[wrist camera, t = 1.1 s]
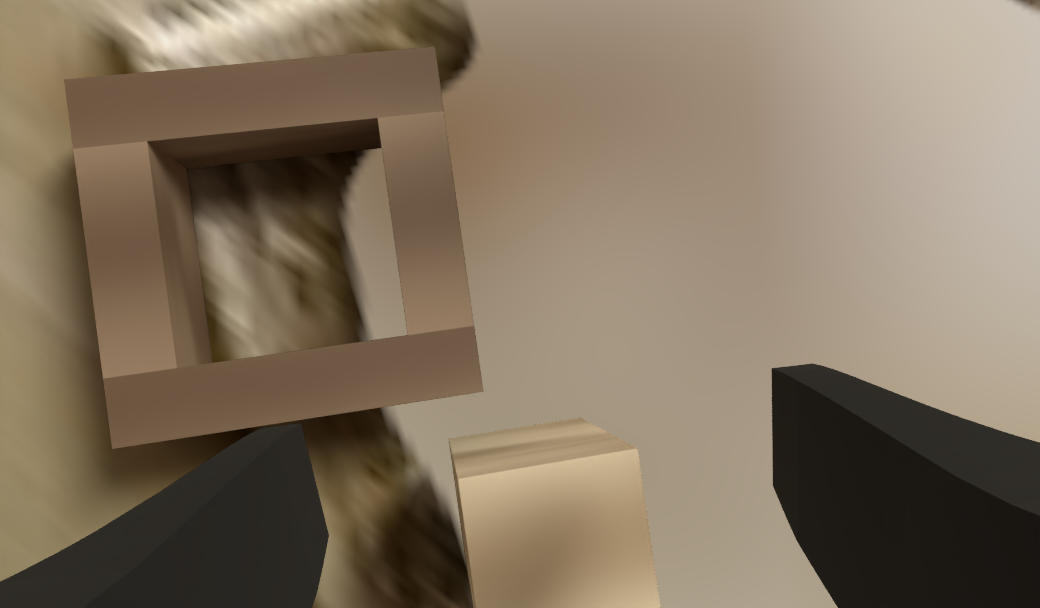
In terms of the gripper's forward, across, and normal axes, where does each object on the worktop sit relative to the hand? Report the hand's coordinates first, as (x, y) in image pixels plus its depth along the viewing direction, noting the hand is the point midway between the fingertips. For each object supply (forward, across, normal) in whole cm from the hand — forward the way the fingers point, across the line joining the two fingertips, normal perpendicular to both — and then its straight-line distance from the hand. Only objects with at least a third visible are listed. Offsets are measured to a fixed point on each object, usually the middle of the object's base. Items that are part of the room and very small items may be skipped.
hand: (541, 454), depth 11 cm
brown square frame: (+11, +6, -1) cm, 13 cm away
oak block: (+9, +1, +7) cm, 11 cm away
